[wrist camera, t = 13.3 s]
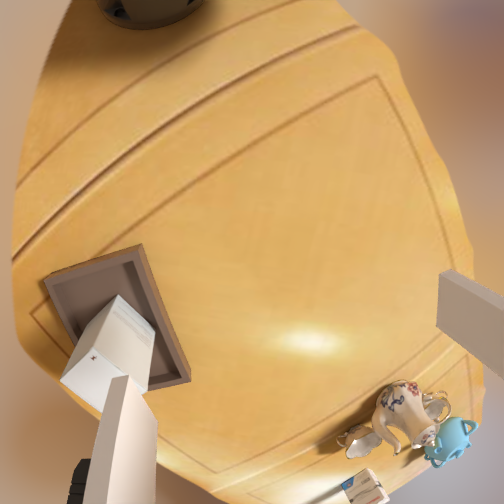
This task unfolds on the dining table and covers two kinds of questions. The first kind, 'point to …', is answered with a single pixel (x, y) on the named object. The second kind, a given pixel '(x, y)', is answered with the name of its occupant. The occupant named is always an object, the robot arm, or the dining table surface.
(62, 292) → the tray
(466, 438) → the teapot
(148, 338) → the supplement box
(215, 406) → the dining table surface
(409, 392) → the chinaware
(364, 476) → the ink box
